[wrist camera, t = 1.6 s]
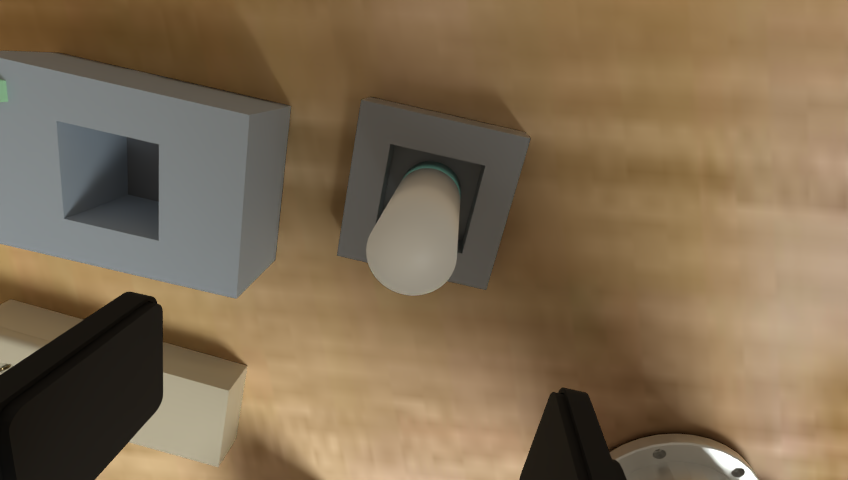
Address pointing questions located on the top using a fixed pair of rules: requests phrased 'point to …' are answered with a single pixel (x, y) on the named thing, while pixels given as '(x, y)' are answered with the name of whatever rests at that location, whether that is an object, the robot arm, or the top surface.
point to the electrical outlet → (182, 386)
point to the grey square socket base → (445, 143)
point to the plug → (418, 232)
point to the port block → (139, 171)
